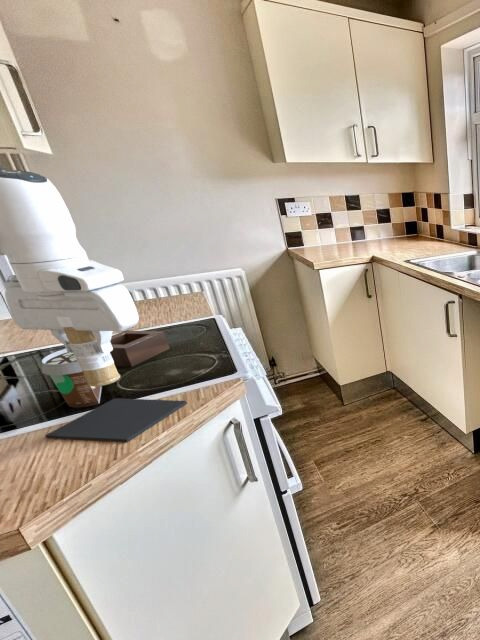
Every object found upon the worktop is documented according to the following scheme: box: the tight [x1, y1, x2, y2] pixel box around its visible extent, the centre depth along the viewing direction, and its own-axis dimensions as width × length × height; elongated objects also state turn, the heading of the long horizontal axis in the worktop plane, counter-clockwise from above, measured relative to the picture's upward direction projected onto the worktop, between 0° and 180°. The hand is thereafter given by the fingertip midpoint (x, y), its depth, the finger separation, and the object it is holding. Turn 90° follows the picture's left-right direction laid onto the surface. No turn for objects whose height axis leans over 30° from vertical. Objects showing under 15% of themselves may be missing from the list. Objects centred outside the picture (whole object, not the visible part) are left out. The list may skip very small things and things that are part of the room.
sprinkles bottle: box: [57, 317, 121, 387], centre depth 75 cm, size 5×5×14 cm
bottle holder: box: [110, 330, 171, 368], centre depth 106 cm, size 11×11×5 cm
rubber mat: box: [44, 398, 188, 443], centre depth 80 cm, size 16×13×1 cm
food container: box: [40, 348, 103, 408], centre depth 85 cm, size 12×6×10 cm, turn 40°
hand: (91, 351), depth 75 cm, fingers closed on sprinkles bottle, 4 cm apart
